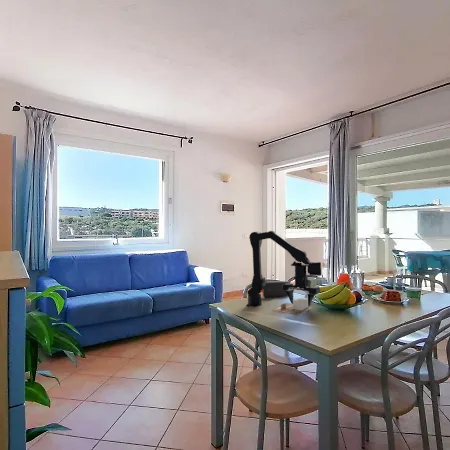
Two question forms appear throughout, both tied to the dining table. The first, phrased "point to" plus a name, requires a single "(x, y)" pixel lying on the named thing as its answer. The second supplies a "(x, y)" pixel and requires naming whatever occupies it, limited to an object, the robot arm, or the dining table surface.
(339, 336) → the dining table surface
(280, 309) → the mounting board
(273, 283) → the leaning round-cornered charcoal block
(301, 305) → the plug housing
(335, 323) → the dining table surface
